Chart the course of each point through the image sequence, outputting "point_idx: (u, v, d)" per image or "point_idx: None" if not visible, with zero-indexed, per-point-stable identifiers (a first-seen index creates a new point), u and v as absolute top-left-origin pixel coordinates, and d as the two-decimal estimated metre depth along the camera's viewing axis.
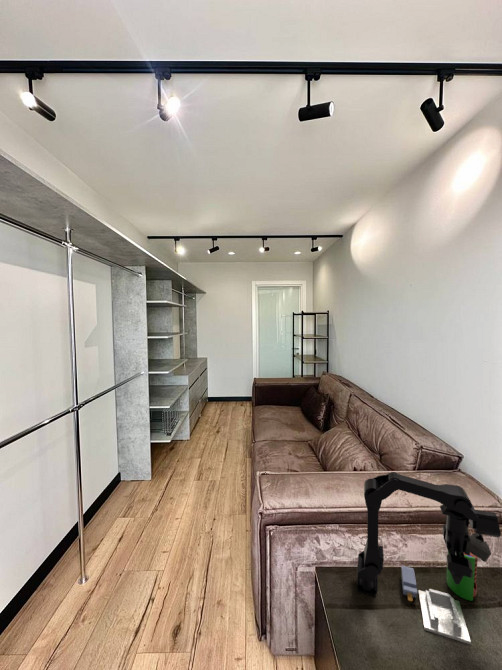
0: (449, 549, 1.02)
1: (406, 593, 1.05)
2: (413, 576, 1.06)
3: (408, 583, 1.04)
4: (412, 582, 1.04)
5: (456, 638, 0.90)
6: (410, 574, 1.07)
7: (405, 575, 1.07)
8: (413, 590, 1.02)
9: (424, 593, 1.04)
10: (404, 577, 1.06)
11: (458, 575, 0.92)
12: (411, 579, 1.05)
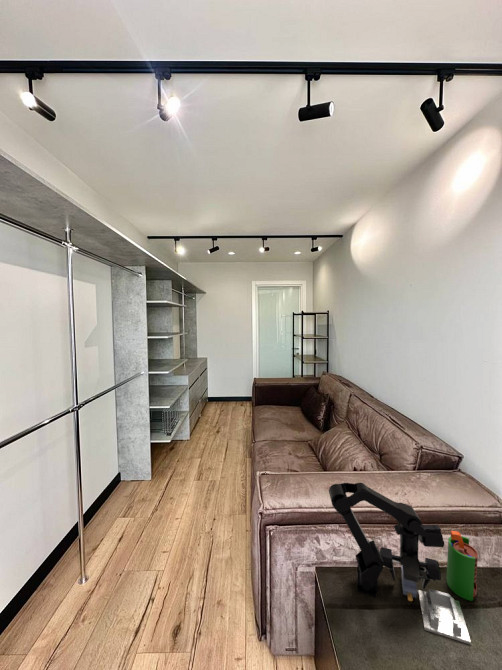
0: None
1: (406, 593, 1.05)
2: None
3: (408, 583, 1.04)
4: (412, 582, 1.04)
5: (456, 638, 0.90)
6: None
7: None
8: (413, 590, 1.02)
9: (424, 593, 1.04)
10: None
11: None
12: None
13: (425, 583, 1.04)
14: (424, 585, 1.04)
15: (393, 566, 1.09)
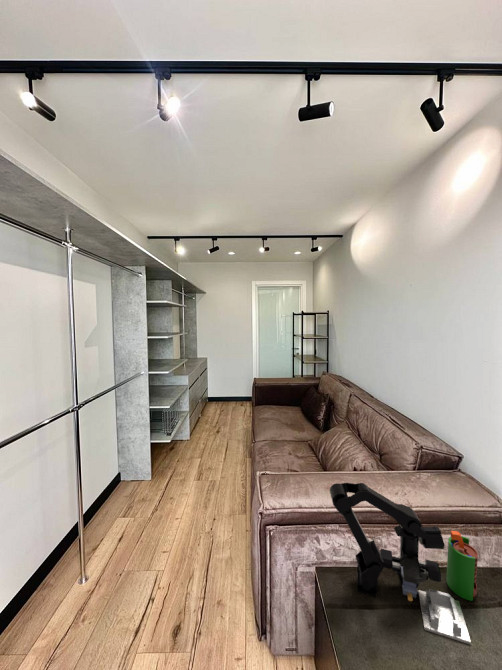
0: None
1: (406, 593, 1.05)
2: None
3: (408, 583, 1.04)
4: None
5: (456, 638, 0.90)
6: None
7: None
8: (413, 590, 1.02)
9: (424, 593, 1.04)
10: None
11: None
12: None
13: None
14: (416, 585, 1.05)
15: None
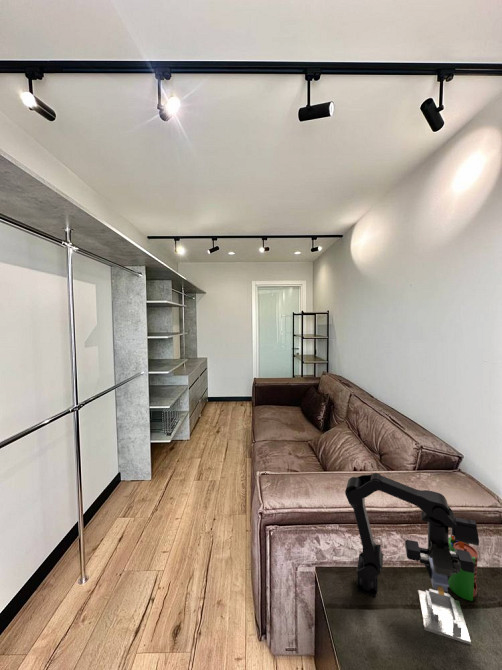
0: None
1: (436, 587, 0.96)
2: None
3: (438, 575, 0.95)
4: (442, 574, 0.95)
5: (456, 638, 0.90)
6: None
7: None
8: (444, 583, 0.93)
9: (424, 593, 1.04)
10: (433, 569, 0.97)
11: None
12: None
13: None
14: None
15: None
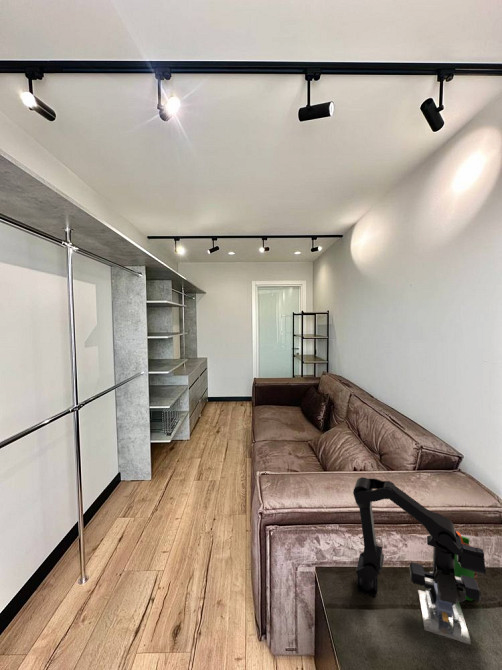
0: None
1: (440, 612, 0.95)
2: None
3: (443, 601, 0.94)
4: None
5: (456, 638, 0.90)
6: None
7: None
8: (449, 609, 0.92)
9: (424, 593, 1.04)
10: None
11: None
12: None
13: None
14: None
15: None
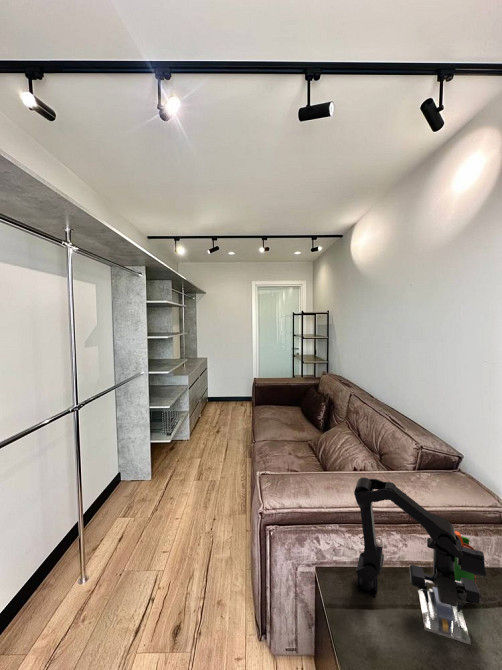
0: None
1: (440, 619, 0.95)
2: None
3: (443, 608, 0.94)
4: (447, 607, 0.94)
5: (456, 638, 0.90)
6: None
7: (438, 598, 0.97)
8: (449, 616, 0.92)
9: None
10: (438, 601, 0.96)
11: None
12: None
13: (460, 606, 0.94)
14: (459, 608, 0.94)
15: None
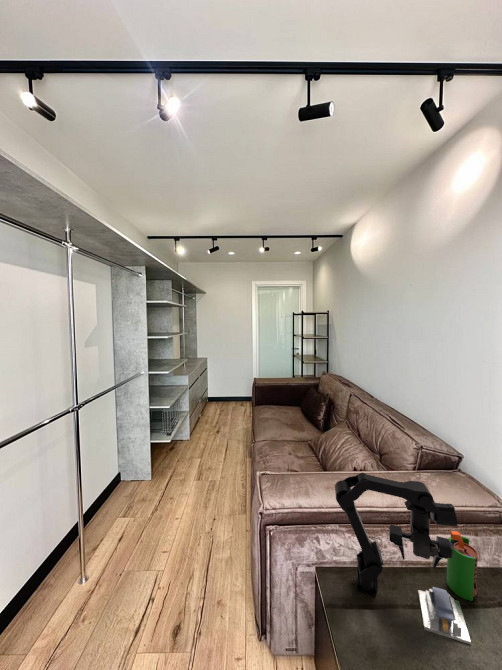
0: None
1: (440, 619, 0.95)
2: (447, 600, 0.97)
3: (443, 608, 0.94)
4: (447, 607, 0.94)
5: (456, 638, 0.90)
6: (444, 597, 0.97)
7: (438, 598, 0.97)
8: (449, 616, 0.92)
9: (424, 593, 1.04)
10: (438, 601, 0.96)
11: None
12: (445, 603, 0.95)
13: (436, 562, 1.01)
14: (435, 564, 1.01)
15: None
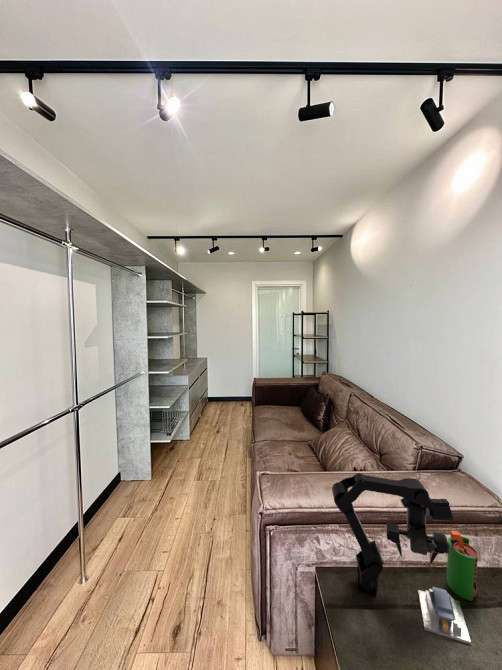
0: None
1: (440, 619, 0.95)
2: (447, 600, 0.97)
3: (443, 608, 0.94)
4: (447, 607, 0.94)
5: (456, 638, 0.90)
6: (444, 597, 0.97)
7: (438, 598, 0.97)
8: (449, 616, 0.92)
9: (424, 593, 1.04)
10: (438, 601, 0.96)
11: None
12: (445, 603, 0.95)
13: (433, 557, 1.02)
14: (432, 559, 1.02)
15: None
